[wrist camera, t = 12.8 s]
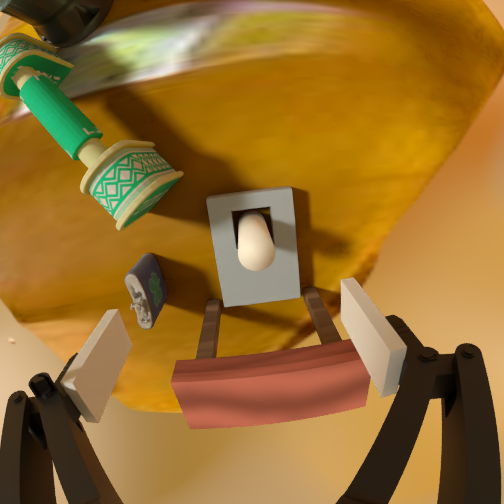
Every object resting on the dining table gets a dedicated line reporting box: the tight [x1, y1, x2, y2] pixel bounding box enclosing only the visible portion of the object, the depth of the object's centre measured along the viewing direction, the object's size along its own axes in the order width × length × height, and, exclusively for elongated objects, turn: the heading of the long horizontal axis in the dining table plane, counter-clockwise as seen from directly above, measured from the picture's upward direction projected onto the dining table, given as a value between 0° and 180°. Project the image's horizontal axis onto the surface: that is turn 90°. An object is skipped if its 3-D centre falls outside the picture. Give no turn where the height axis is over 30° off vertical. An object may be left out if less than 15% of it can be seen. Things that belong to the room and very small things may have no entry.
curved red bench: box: [171, 287, 371, 429], centre depth 37 cm, size 7×18×25 cm, turn 97°
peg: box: [238, 210, 275, 271], centre depth 39 cm, size 4×4×14 cm
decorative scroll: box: [0, 33, 184, 231], centre depth 32 cm, size 36×8×15 cm, turn 43°
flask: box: [124, 253, 167, 330], centre depth 43 cm, size 9×3×11 cm, turn 9°
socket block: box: [206, 186, 300, 307], centre depth 45 cm, size 17×12×3 cm
